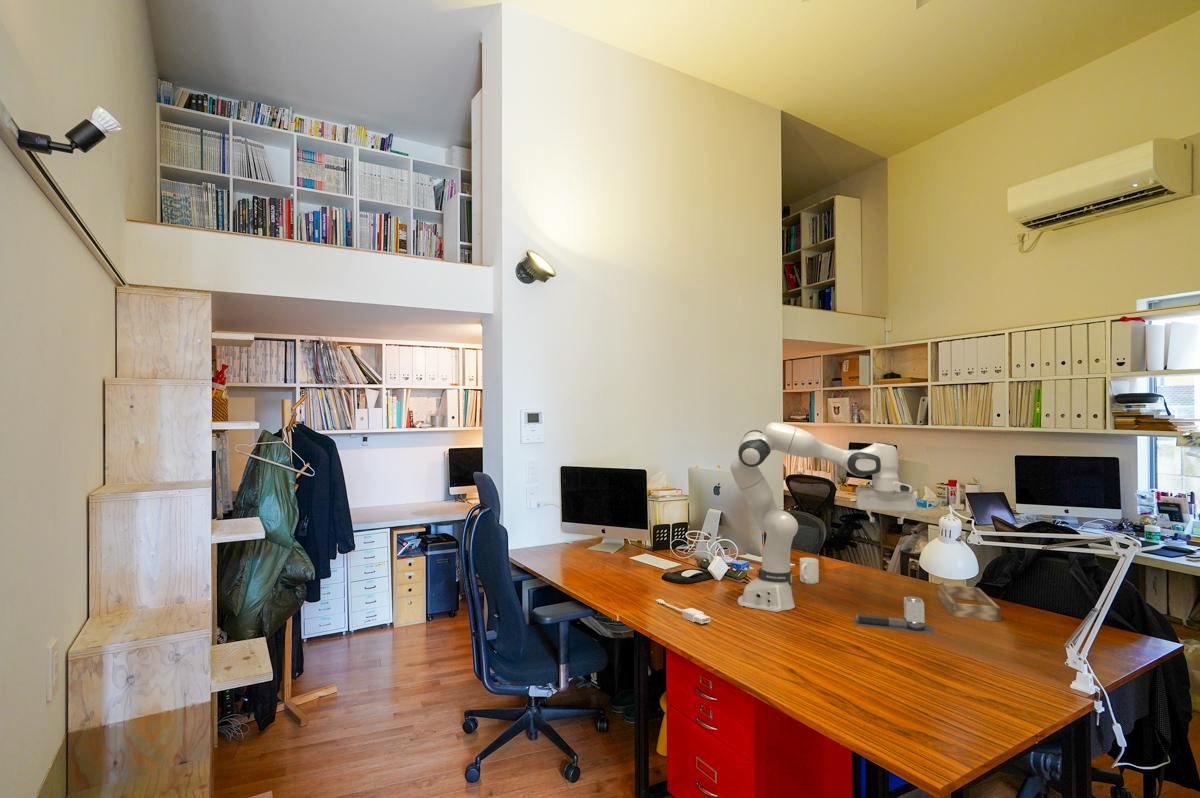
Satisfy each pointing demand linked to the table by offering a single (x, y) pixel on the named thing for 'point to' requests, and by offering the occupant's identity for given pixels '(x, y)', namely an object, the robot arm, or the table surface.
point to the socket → (914, 609)
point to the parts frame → (983, 611)
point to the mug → (809, 570)
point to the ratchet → (888, 622)
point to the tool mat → (926, 628)
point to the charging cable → (690, 613)
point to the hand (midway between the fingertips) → (886, 522)
